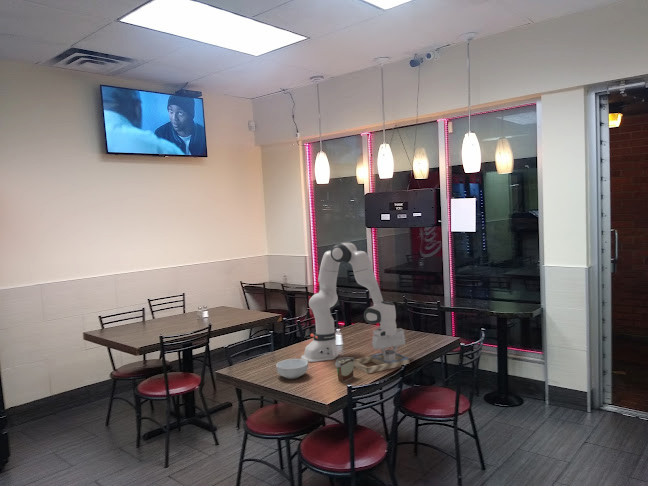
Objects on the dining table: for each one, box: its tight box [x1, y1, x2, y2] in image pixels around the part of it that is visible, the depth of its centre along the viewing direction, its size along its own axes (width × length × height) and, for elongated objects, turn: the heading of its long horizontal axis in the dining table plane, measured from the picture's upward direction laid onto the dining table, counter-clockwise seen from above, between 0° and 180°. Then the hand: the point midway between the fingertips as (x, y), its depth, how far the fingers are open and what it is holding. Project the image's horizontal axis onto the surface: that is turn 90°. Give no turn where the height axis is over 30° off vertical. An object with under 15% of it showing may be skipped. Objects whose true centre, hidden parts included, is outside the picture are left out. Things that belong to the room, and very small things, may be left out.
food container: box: [334, 356, 355, 383], centre depth 247 cm, size 12×6×10 cm, turn 141°
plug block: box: [383, 349, 395, 362], centre depth 270 cm, size 4×5×7 cm
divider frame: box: [354, 352, 410, 374], centre depth 267 cm, size 27×17×4 cm, turn 117°
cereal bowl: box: [275, 358, 309, 380], centre depth 255 cm, size 17×17×7 cm
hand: (389, 354), depth 270 cm, fingers open, 5 cm apart
